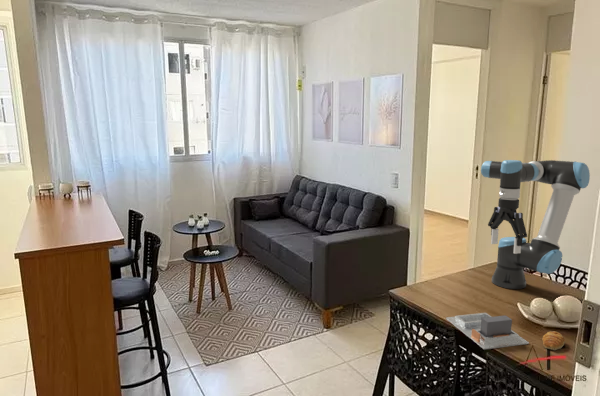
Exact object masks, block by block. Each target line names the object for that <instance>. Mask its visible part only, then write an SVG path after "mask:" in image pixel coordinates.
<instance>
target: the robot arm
mask: <svg viewBox="0 0 600 396" xmlns="http://www.w3.org/2000/svg"><path fill="white" fill-rule="evenodd" d="M480 172H481V173H480V174H481V176H482V177H484V178H488V179H498V180H499V193H498V194H499V195H498V197H499V198H498V203H497V204H498V206H494V208H493V212H492V215H491V217H490V219H489V221H488V223H487V225H488V227H490V229H491V230H490V235H491V240H490V244H491V245H497V244H498V246H497V248H498V249H497V260H496V261H497V262H496V267H495V270H494V271H493V274H492V276H491V283H492V284H493V285H495V286H498V287H501V288H505V289H509V290H510V289H511V290H521V289H522V290H523V289H525V288H526V287H527V280H526V276H525V272H524V268H525V269H528V270H531V271H535V272H538V273H541V274H542V273H543V274H548V275H550V274H553V273H554V272H556V271H557V270H558V269H559V267H560V265H561V263H562V260H563V253H562V251H561V250H560V249H561V246H560V245H559V243H558V242H559V240H560V237H561V235H562V231H563V228H564V225H565V223H566V220H567V217H568V214H569V212H570V209H571V206H572V203H573V200H574V197H575V196H576V195H579V193H580V192H581V189H586V188H587V187H588V185H589V183H590V179H591V178H590V176H591V174H590V168H589V167H588V164H587V163H584V162H581V161H569V160H568V161H567V160H556V159H554V160H552V159H551V160H549V159H548V160H538V161H537V160H533V161H529V162H522V161H521V160H517V159H506V160H505V159H504V160H503V161H495V160H485V161H484V162H483V163H482V165H481V167H480ZM525 182H538V183H542V184H547V185H551V186H550V187H551V188H552V193H551V196H550V199H549V202H548V205H547V207H546V210H545V214H544V215H543V219H542V221H541V223H540V227H539V230H538V233H537V236H536V237H534V238H531V241H530V243H529V242H527V237H528V233H527V230H526V225H525V222H524V214H523V212H517V210H518V209H519V206H520V197H521V183H525ZM504 221H506V222H508V223H509V224H510V226H511V229H512V231H513V232H514V235H515V236H505V237H501V238H500V239H499V231H500V230H499V227H500V226H501V224H502V223H503V222H504ZM498 239H499V240H498ZM498 241H499V242H498Z"/></svg>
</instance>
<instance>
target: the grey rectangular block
mask: <svg viewBox="0 0 600 396" xmlns="http://www.w3.org/2000/svg"><path fill="white" fill-rule="evenodd" d="M512 326H513V319H512V318H510V317H509V316H507V315H506V314H505V315H498V316H496V315H495V316H491V317H486V318H481V330H480V333H481V334H482V335H483V336H485V337H491V336H493V335H502V334H511V330H512V328H513V327H512Z"/></svg>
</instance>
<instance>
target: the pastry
mask: <svg viewBox="0 0 600 396" xmlns="http://www.w3.org/2000/svg"><path fill="white" fill-rule="evenodd" d="M563 336H564V335H562V334H561V333H560V332H558V331H551V330H550V331H547V332H546V333H545V334H544V335H543V336H542V339H541V340H542V344H543V347H544V349H548V350H552V351H556V350H561V349H562V348H563V346H564V345H565V343H566V340H565V338H564V337H563Z"/></svg>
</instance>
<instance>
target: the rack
mask: <svg viewBox="0 0 600 396" xmlns="http://www.w3.org/2000/svg"><path fill="white" fill-rule="evenodd" d="M486 317H492V316H491V315H490V314H489V313H488V312H480V313H478V312H477V313H468V314H460V315H454V316H447V317H445V320H447V321H448V322H450V323H451V324H452V325H453V326H454V327H455V328H457V329H458V330H460V332H462V333H463V334H464V335H465V336H466V337H468V338H469V339H471V340H472V341H473V342H474V343H476V344H477V345H478V346H479V347H480V348H482V349H483V350H484V351H485V350H491V349H499V348H509V347H514V346H522V345H529V344H530V343H529V341H528V340H526V339H525V338H523V337H521V336H520V335H519V334H518V333H517V332H515V331H514V330H513V329H511V334H502V335H493V336H491V337H485V336H483V335H482V334H481V333H480V330H481V318H486Z"/></svg>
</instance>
